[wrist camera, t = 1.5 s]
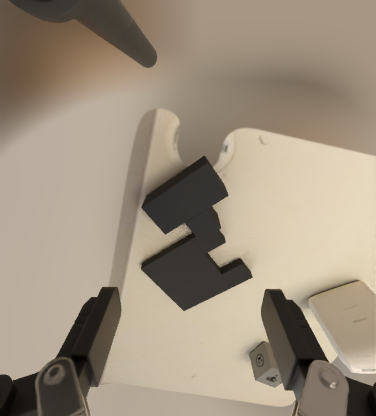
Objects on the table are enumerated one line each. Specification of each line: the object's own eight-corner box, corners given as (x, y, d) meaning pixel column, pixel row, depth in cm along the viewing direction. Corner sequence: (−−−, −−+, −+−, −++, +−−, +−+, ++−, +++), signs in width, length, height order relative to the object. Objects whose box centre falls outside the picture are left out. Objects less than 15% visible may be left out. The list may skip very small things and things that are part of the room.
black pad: (142, 262, 38) (140, 268, 36) (212, 221, 34) (213, 226, 33) (184, 304, 42) (183, 311, 40) (250, 271, 38) (252, 277, 37)
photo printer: (363, 276, 38) (434, 348, 27) (367, 292, 40) (435, 366, 29) (304, 295, 41) (347, 370, 29) (310, 310, 42) (352, 386, 31)
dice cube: (249, 353, 48) (255, 380, 44) (264, 341, 46) (272, 367, 42) (267, 361, 49) (274, 387, 45) (282, 349, 47) (292, 375, 43)
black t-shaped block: (181, 236, 35) (180, 251, 32) (146, 195, 32) (141, 207, 29) (236, 203, 33) (242, 216, 29) (204, 155, 30) (206, 163, 26)
